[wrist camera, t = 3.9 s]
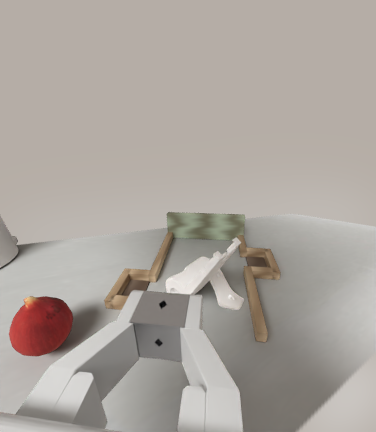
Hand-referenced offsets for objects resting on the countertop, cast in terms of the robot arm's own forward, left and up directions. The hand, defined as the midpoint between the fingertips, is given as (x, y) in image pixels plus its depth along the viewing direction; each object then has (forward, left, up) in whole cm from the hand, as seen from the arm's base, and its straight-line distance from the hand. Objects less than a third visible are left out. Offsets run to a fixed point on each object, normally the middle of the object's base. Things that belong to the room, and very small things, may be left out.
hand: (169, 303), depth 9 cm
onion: (-17, +8, -17) cm, 26 cm away
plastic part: (+1, +18, -18) cm, 25 cm away
